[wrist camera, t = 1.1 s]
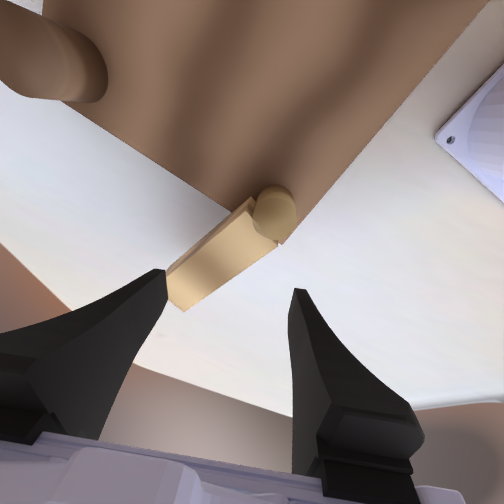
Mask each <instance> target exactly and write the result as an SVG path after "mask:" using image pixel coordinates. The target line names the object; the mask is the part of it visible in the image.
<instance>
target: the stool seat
mask: <svg viewBox="0 0 504 504" xmlns="http://www.w3.org/2000/svg"><path fill="white" fill-rule="evenodd" d="M488 1H489V0H44V1H43V10H42V16H41V15H39V14H37V13H34V12H32V11H30V10H28V9H25V8H23V7H21V6H19V5H16V4H14V3H12V2H10V1H7V0H0V80H1V81H2V82H3V83H4V84H5V85H7V86H8V87H9V88H10V89H12V90H13V91H15V92H16V93H18V94H20V95H23V96H26V97H30V98H39V99H50V100H60V101H62V102H63V103H65V104H66V105H68V106H69V107H71V108H72V109H74V110H76V111H77V112H79V113H80V114H82V115H83V116H85V117H86V118H88V119H89V120H91V121H92V122H94V123H95V124H97V125H99V126H100V127H102V128H103V129H105V130H106V131H108V132H109V133H111V134H112V135H114V136H115V137H117V138H118V139H120V140H122V141H123V142H125V143H126V144H128V145H129V146H131V147H132V148H134V149H135V150H137V151H138V152H140V153H142V154H143V155H145V156H146V157H148V158H149V159H151V160H152V161H154V162H155V163H157V164H158V165H160V166H161V167H163V168H165V169H166V170H168V171H169V172H171V173H172V174H174V175H175V176H177V177H178V178H180V179H181V180H183V181H185V182H186V183H188V184H189V185H191V186H192V187H194V188H195V189H197V190H198V191H200V192H201V193H203V194H204V195H206V196H208V197H209V198H211V199H212V200H214V201H215V202H217V203H218V204H220V205H221V206H223V207H224V208H226V209H228V210H229V211H231V212H233V211H235V210H236V209H237V208H238V207H239V206H240V205H242V204H243V203H244V202H245V201H246V200H247V199H249V198H250V197H252V198H253V199H254V200H255V201H257V198H258V196H259V194H260V192H261V191H262V190H263V189H265V188H266V187H269V186H272V185H280V186H283V187H285V188H287V189H288V190H289V191H290V192H291V194H292V195H293V198H294V203H295V208H296V214H297V224H296V227H295V229H296V228H297V227H298V225H299V224H300V223H301V222H302V221H303V220H304V218H305V217H306V216H307V215H308V214H309V213H310V211H311V210H312V209H313V208H314V207H315V205H316V204H317V203H318V202H319V201H320V200H321V198H322V197H323V196H324V195H325V194H326V192H327V191H328V190H329V189H330V188H331V187H332V185H333V184H334V183H335V182H336V181H337V179H338V178H339V177H340V176H341V175H342V174H343V172H344V171H345V170H346V169H347V168H348V167H349V165H350V164H351V163H352V162H353V161H354V159H355V158H356V157H357V156H358V155H359V154H360V152H361V151H362V150H363V149H364V148H365V146H366V145H367V144H368V143H369V142H370V141H371V139H372V138H373V137H374V136H375V135H376V133H377V132H378V131H379V130H380V129H381V128H382V126H383V125H384V124H385V123H386V122H387V120H388V119H389V118H390V117H391V116H392V115H393V113H394V112H395V111H396V110H397V109H398V108H399V106H400V105H401V104H402V103H403V102H404V100H405V99H406V98H407V97H408V96H409V95H410V93H411V92H412V91H413V90H414V89H415V87H416V86H417V85H418V84H419V83H420V82H421V80H422V79H423V78H424V77H425V76H426V74H427V73H428V72H429V71H430V70H431V69H432V67H433V66H434V65H435V64H436V63H437V62H438V60H439V59H440V58H441V57H442V56H443V54H444V53H445V52H446V51H447V50H448V49H449V47H450V46H451V45H452V44H453V43H454V41H455V40H456V39H457V38H458V37H459V36H460V34H461V33H462V32H463V31H464V30H465V28H466V27H467V26H468V25H469V24H470V23H471V21H472V20H473V19H474V18H475V17H476V15H477V14H478V13H479V12H480V11H481V10H482V8H483V7H484V6H485V5H486V4H487V3H488ZM295 229H294V230H295ZM294 230H293V231H294ZM292 233H293V232H292ZM292 233H291V234H292ZM291 234H290V235H291ZM290 235H288V236H287V237H285V238H283V239H279V240H278V243H280V244H281V245H282V244H283V243H284V242H285V241H286V240H287V238H288V237H289V236H290Z"/></svg>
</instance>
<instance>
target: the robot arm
mask: <svg viewBox="0 0 504 504" xmlns="http://www.w3.org/2000/svg"><path fill="white" fill-rule="evenodd" d="M450 136H451V137H452V139H451V141H450V142H449V143H448V144H447V139H448V138H449V137H450ZM435 141H436V142H437V143H438V144H439V145H440V146H441V147H442V148H444V149H445V150H446V151H447V152H448V153H449V154H450V155H451V156H452V157H453V158H455V159H456V160H457V161H458V162H459V163H460V164H461V165H462V166H463V167H464V168H466V169H467V170H468V171H469V172H470V173H471V174H472V175H473V176H474V177H476V178H477V179H478V180H479V181H480V182H481V183H482V184H483V185H484V186H485V187H487V188H488V189H489V190H490V191H491V192H492V193H493V194H494V195H495V196H497V197H498V198H499V199H500V200H501V201H502V202H503V203H504V64H503V65H502V66H501V67H500V68H499V69H498V70H497V71H496V72H495V73H494V74H493V75H492V76H491V77H490V78H489V79H488V80H487V81H486V82H485V83H484V84H483V85H482V86H481V87H480V88H479V89H478V90H477V91H476V92H475V94H474V95H473V96H472V97H471V98H470V99H469V100H468V101H467V102H466V103H465V104H464V105H463V106H462V107H461V108H460V109H459V110H458V111H457V112H456V113H455V114H454V115H453V116H452V117H451V118H450V119H449V120H448V121H447V122H446V123H445V124H444V125H443V126H442V127H441V128H440V129H439V131H438V132H437V133H436V135H435ZM167 300H168V290H167V281H166V272H165V270H161V269H153V270H151V271H149V272H147V273H146V274H144V275H142V276H141V277H139V278H137V279H136V280H134V281H132V282H130V283H129V284H127V285H125V286H124V287H122V288H120V289H118V290H116V291H114V292H112V293H111V294H109V295H107V296H105V297H103V298H101V299H99V300H97V301H95V302H93V303H90V304H88V305H86V306H83V307H81V308H79V309H76V310H74V311H71V312H68V313H66V314H63V315H60V316H58V317H55V318H52V319H49V320H46V321H43V322H40V323H37V324H34V325H30V326H27V327H23V328H20V329H16V330H12V331H8V332H5V333H1V334H0V504H466V503H465V501H464V499H463V497H462V495H461V493H459V492H458V491H456V490H450V489H443V488H438V487H431V486H423V485H421V486H416V487H414V484H413V481H412V479H411V476H410V475H412V474H413V468H412V466H411V463H410V461H409V458H410V457H411V456H412V455H413V454H414V453H415V452H416V451H417V450H418V449H419V448H420V447H421V446H422V444H423V443H424V439H425V435H424V433H423V431H422V428H421V426H420V424H419V422H418V420H417V417H416V415H415V414H414V412H413V410H412V408H411V406H410V404H409V403H408V402H407V401H406V400H404V399H403V398H402V397H400V396H399V395H398V394H397V393H395V392H394V391H393V390H391V389H390V388H389V387H387V386H386V385H385V384H384V383H383V382H381V381H380V380H379V379H378V378H377V377H376V376H375V375H373V374H372V373H371V372H370V371H369V370H368V369H367V368H366V367H365V366H363V365H362V364H361V363H360V362H359V361H358V360H357V359H356V358H355V357H354V356H353V355H352V354H351V352H350V351H349V350H348V349H347V348H346V347H345V346H344V345H343V344H342V342H341V341H340V340H339V339H338V338H337V336H336V335H335V334H334V333H333V331H332V330H331V329H330V327H329V326H328V324H327V323H326V322H325V320H324V319H323V317H322V315H321V314H320V312H319V311H318V309H317V308H316V306H315V304H314V303H313V301H312V299H311V297H310V296H309V294H308V292H307V290H306V289H299V288H294V292H293V296H292V301H291V305H290V309H289V313H288V340H289V350H290V359H291V368H292V382H293V441H292V444H293V445H292V474H290V473H284V472H278V471H272V470H266V469H261V468H255V467H249V466H243V465H237V464H231V463H225V462H220V461H214V460H208V459H202V458H196V457H191V456H184V455H179V454H173V453H166V452H161V451H155V450H150V449H143V448H138V447H131V446H126V445H120V444H114V443H109V442H103V441H98V439H99V437H100V434H101V432H102V429H103V427H104V424H105V422H106V419H107V417H108V414H109V412H110V410H111V407H112V405H113V403H114V401H115V398H116V396H117V394H118V391H119V389H120V387H121V385H122V383H123V381H124V378H125V376H126V374H127V372H128V370H129V368H130V366H131V364H132V362H133V360H134V358H135V356H136V354H137V353H138V351H139V349H140V348H141V346H142V344H143V343H144V341H145V340H146V338H147V336H148V335H149V333H150V332H151V330H152V328H153V327H154V325H155V324H156V322H157V320H158V319H159V317H160V315H161V314H162V312H163V309H164V307H165V305H166V303H167Z"/></svg>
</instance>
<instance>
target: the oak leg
mask: <svg viewBox="0 0 504 504" xmlns="http://www.w3.org/2000/svg"><path fill="white" fill-rule="evenodd" d="M296 224H297V214H296V208H295V203H294V198H293V195H292V194H291V192H290V191H289V190H288V189H287V188H285V187H283V186H280V185H272V186H269V187H266V188H265V189H263V190H262V191H261V192H260V194H259V196H258V198H257V201H255V200H254V199H253V198H252V197H250V198H249V199H247V200H246V201H245V202H244V203H243V204H242V205H240V206H239V207H238V208H237V209H236V210H235V211H233V212H232V213H231V214H230V215H229V216H228V217H227V218H225V219H224V220H223V221H222V222H221V223H220V224H218V225H217V226H216V227H215V228H214V229H213V230H211V231H210V232H209V233H208V234H207V235H206V236H204V237H203V238H202V239H201V240H200V241H199V242H197V243H196V244H195V245H194V246H193V247H192V248H190V249H189V250H188V251H187V252H186V253H185V254H183V255H182V256H181V257H180V258H179V259H178V260H176V261H175V262H174V263H173V264H172V265H171V266H170V267H169V268H168V269H167V271H166V281H167V290H168V300H169V301H170V302H171V303H173V304H174V305H175V306H176V307H178V308H179V309H180V310H181V311H183V312H185V311H187V310H188V309H189V308H191V307H192V306H194V305H195V304H196V303H198V302H199V301H201V300H202V299H204V298H205V297H206V296H208V295H209V294H211V293H212V292H214V291H215V290H216V289H218V288H219V287H221V286H222V285H224V284H225V283H226V282H228V281H229V280H231V279H232V278H234V277H235V276H236V275H238V274H239V273H241V272H242V271H244V270H245V269H246V268H248V267H249V266H251V265H252V264H254V263H255V262H256V261H258V260H259V259H261V258H262V257H264V256H265V255H266V254H268V253H269V252H271V251H272V250H274V249H275V248H276V247H278V240H279V239H283V238H285V237H287V236H288V235H290V234H291V233H292V232H293V230H294V229H295V227H296Z"/></svg>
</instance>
